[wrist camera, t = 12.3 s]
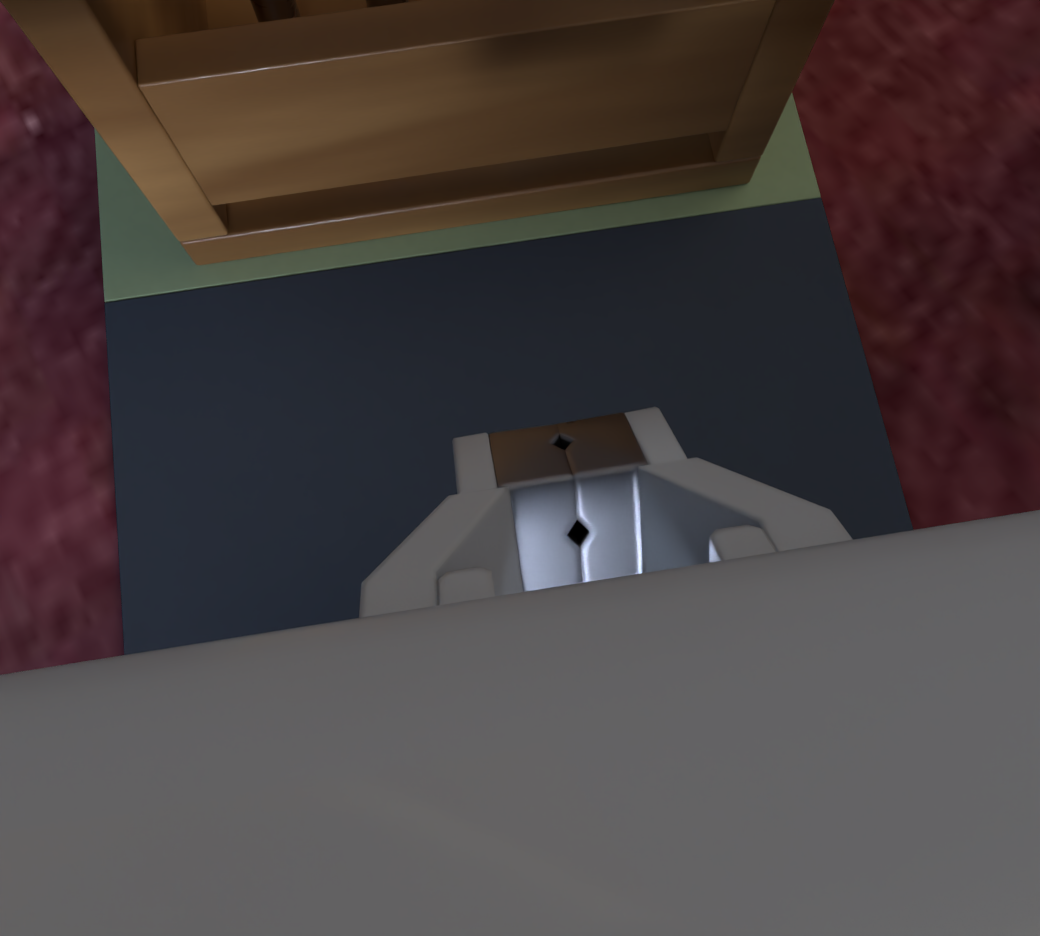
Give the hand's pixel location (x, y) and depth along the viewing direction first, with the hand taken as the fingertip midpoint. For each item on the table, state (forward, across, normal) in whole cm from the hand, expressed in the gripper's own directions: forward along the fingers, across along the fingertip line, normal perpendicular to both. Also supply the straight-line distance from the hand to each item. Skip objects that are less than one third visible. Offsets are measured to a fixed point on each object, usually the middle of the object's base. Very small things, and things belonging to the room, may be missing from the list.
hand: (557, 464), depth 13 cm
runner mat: (+10, +1, +1) cm, 10 cm away
